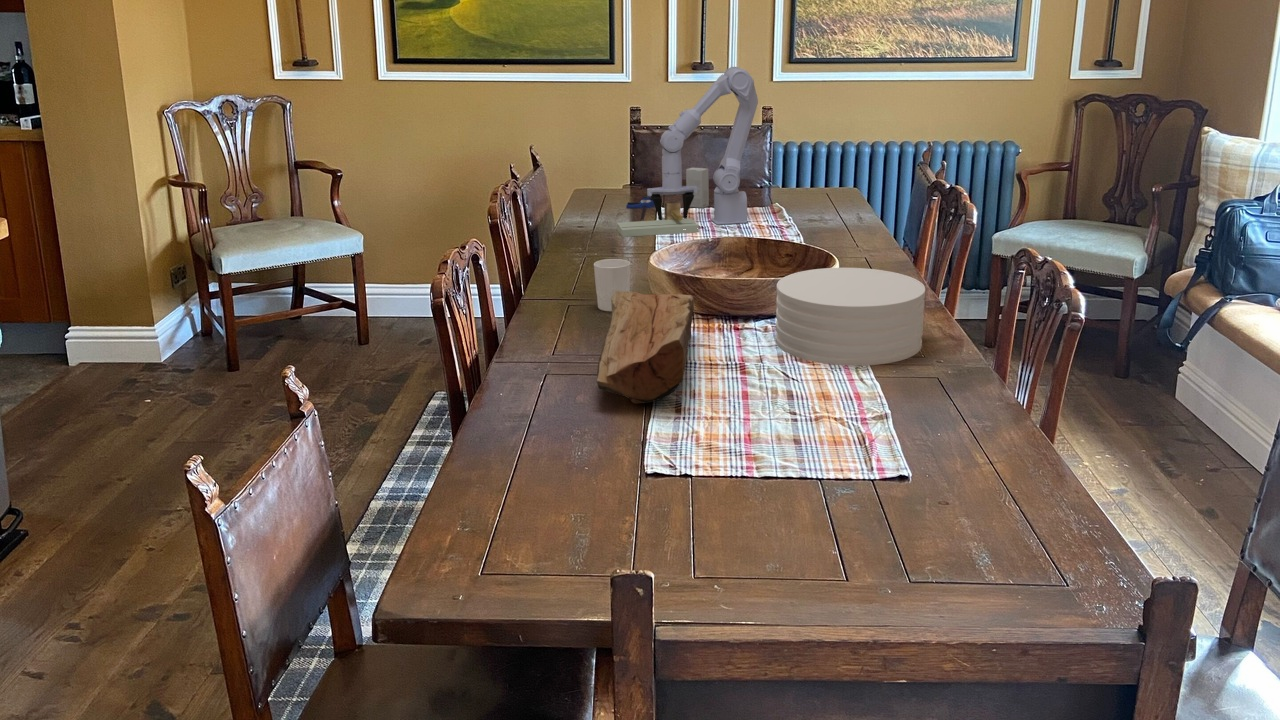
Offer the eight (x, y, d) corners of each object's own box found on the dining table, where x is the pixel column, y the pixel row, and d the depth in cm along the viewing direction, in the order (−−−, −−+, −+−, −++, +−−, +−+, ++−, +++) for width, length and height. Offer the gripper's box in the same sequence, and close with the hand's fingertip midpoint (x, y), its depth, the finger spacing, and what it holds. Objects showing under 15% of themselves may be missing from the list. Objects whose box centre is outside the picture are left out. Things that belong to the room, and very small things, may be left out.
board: (691, 225, 315) (691, 218, 314) (698, 232, 306) (698, 224, 305) (616, 229, 312) (616, 222, 311) (622, 236, 302) (622, 229, 302)
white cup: (618, 314, 231) (617, 269, 228) (588, 309, 235) (586, 265, 232) (638, 305, 237) (637, 261, 234) (608, 300, 241) (606, 257, 238)
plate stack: (837, 313, 229) (839, 260, 225) (950, 342, 209) (955, 285, 205) (746, 342, 212) (746, 286, 208) (860, 377, 192) (863, 315, 188)
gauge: (677, 222, 319) (677, 200, 316) (686, 231, 307) (686, 209, 305) (664, 223, 318) (664, 201, 316) (673, 232, 306) (672, 209, 304)
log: (681, 411, 176) (688, 321, 173) (576, 401, 178) (581, 311, 175) (695, 366, 218) (701, 292, 215) (609, 358, 219) (614, 285, 217)
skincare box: (709, 206, 341) (709, 168, 337) (702, 208, 338) (702, 170, 334) (692, 204, 344) (692, 167, 340) (685, 207, 341) (685, 169, 337)
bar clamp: (627, 196, 349) (658, 195, 348) (628, 203, 350) (658, 203, 349) (621, 220, 319) (655, 220, 318) (621, 228, 320) (655, 228, 319)
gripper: (693, 169, 316) (693, 214, 321) (644, 171, 314) (645, 217, 318) (698, 172, 310) (699, 219, 314) (649, 175, 307) (650, 222, 312)
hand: (672, 218), depth 316 cm, fingers open, 7 cm apart
